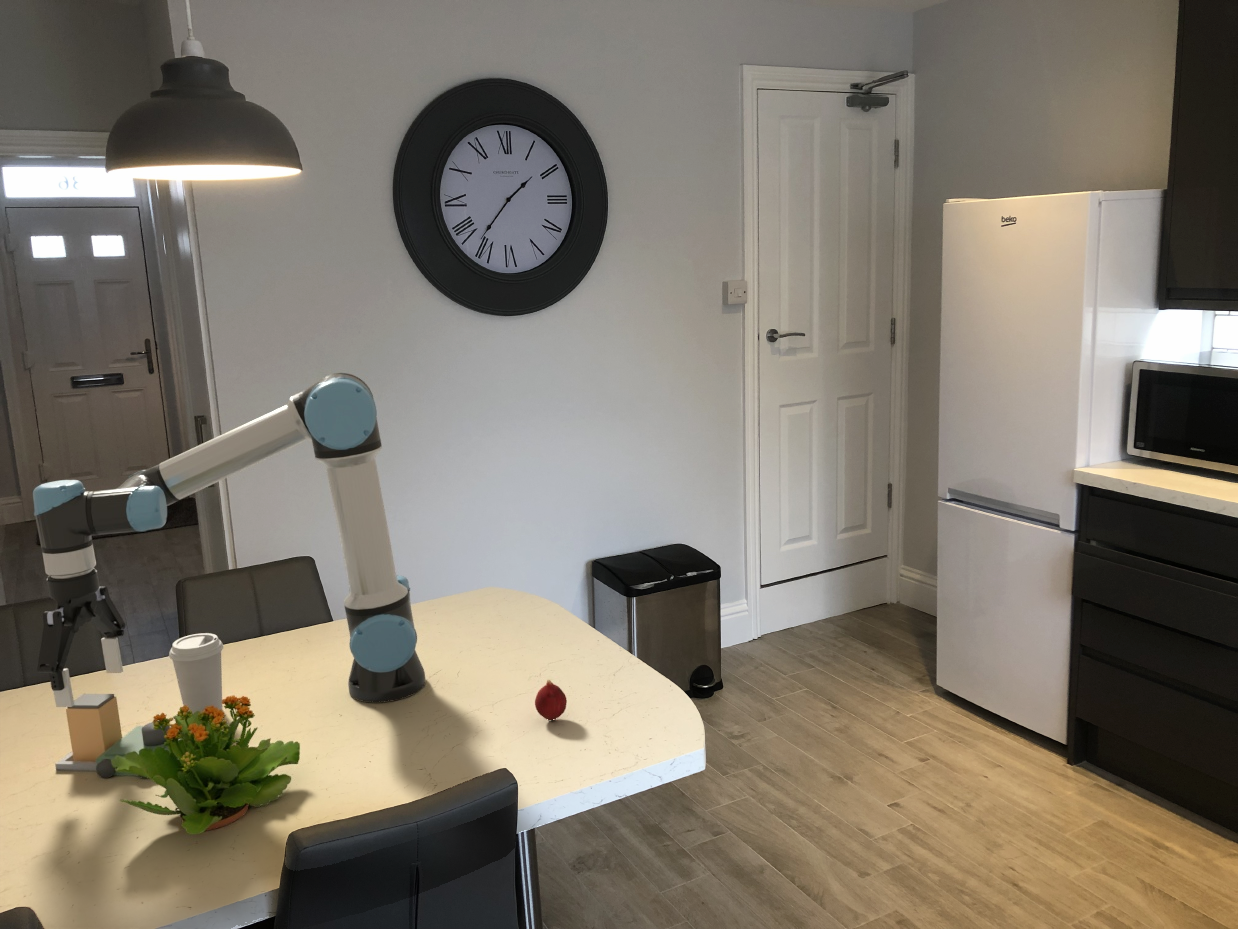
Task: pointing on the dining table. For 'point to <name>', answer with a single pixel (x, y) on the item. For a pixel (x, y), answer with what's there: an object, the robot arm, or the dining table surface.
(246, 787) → the potted flower
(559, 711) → the onion
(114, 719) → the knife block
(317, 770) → the dining table surface
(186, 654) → the coffee cup
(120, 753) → the wheeled tray
